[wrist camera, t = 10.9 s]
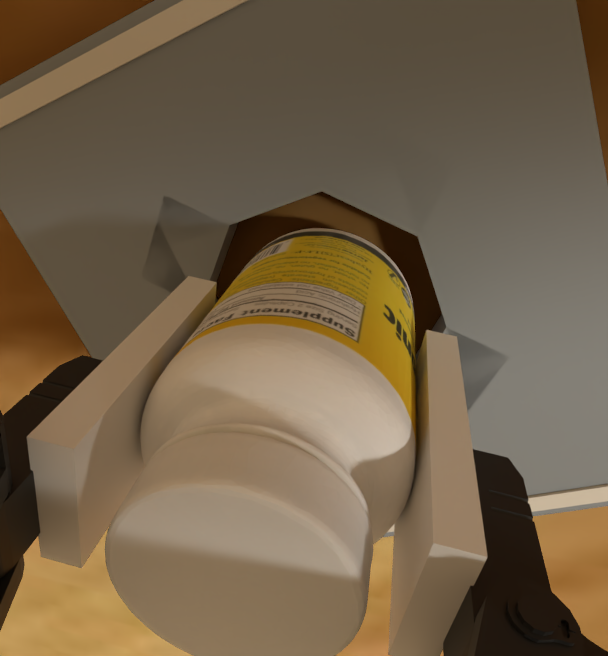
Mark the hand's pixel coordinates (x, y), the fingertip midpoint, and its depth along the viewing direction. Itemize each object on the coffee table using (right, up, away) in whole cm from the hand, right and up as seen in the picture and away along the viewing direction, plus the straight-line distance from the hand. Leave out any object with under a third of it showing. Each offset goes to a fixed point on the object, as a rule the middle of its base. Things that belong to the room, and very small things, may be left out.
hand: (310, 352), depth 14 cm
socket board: (+1, +2, +3) cm, 3 cm away
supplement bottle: (+1, +1, +3) cm, 3 cm away
